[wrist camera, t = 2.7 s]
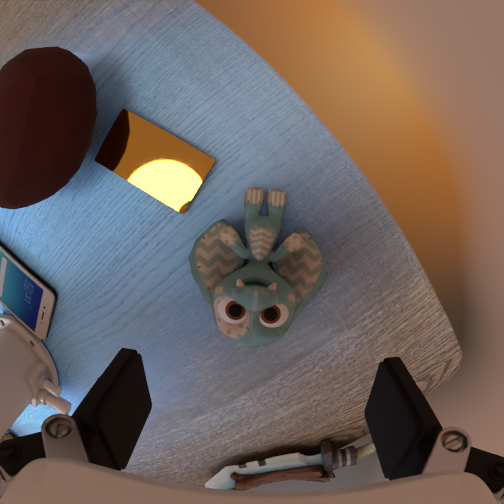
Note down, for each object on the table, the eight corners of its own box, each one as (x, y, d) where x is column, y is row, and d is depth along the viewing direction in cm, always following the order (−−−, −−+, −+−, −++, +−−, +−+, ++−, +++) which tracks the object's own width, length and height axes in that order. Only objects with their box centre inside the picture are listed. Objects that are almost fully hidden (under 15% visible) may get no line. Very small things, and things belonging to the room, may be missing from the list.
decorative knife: (420, 408, 25) (175, 478, 28) (424, 452, 26) (206, 513, 28) (406, 390, 30) (183, 457, 32) (412, 434, 30) (211, 492, 33)
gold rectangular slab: (127, 110, 21) (100, 160, 22) (122, 108, 20) (94, 160, 21) (216, 160, 23) (185, 212, 24) (215, 160, 22) (182, 214, 23)
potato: (16, 179, 23) (-58, 190, 13) (60, 58, 20) (-8, 29, 10) (89, 220, 24) (11, 249, 14) (146, 80, 21) (83, 35, 11)
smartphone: (-23, 222, 23) (55, 295, 25) (-18, 221, 24) (59, 292, 26) (-29, 271, 25) (44, 342, 27) (-25, 269, 26) (47, 339, 28)
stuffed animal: (354, 190, 17) (327, 374, 18) (328, 201, 25) (310, 338, 25) (180, 170, 18) (166, 356, 18) (202, 187, 25) (189, 325, 26)
